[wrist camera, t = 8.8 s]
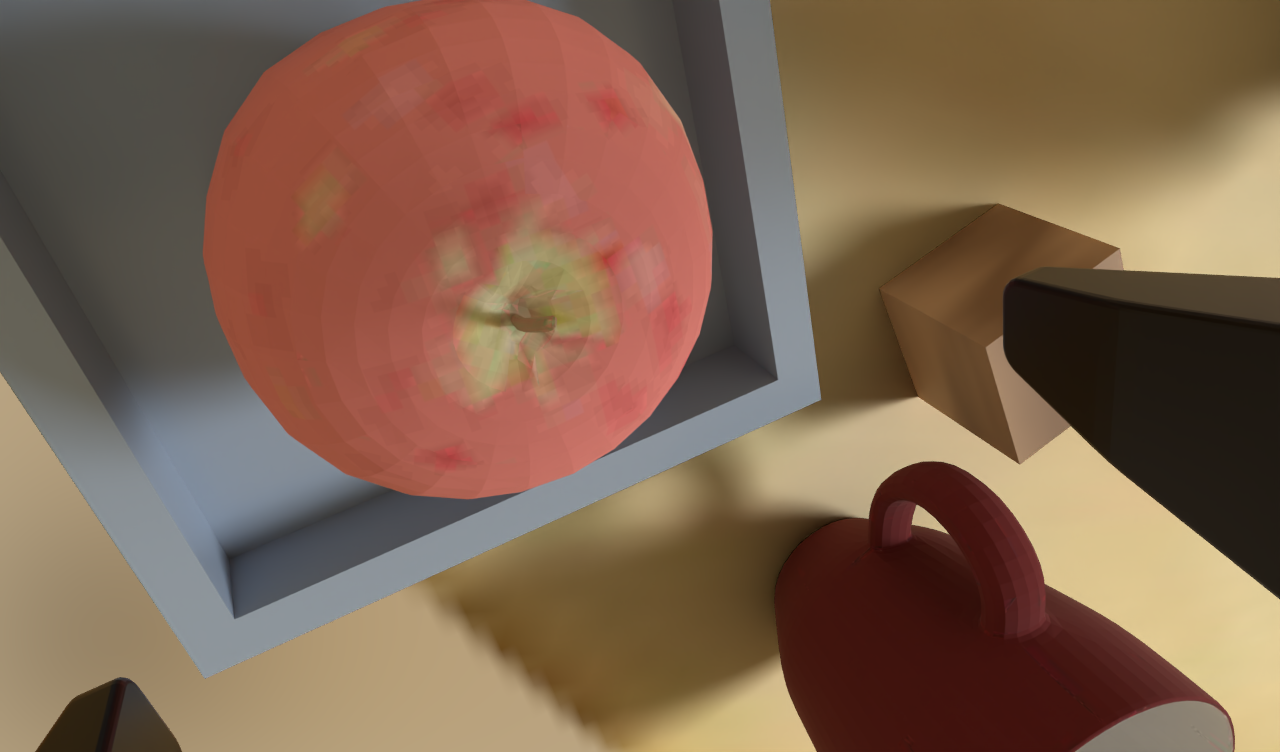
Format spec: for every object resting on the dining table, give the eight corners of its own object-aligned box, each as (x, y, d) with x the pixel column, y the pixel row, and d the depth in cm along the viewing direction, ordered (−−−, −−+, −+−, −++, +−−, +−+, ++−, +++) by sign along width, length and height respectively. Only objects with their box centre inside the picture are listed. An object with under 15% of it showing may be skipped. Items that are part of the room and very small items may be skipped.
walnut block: (995, 202, 25) (1120, 248, 22) (1024, 315, 27) (1141, 372, 24) (877, 287, 25) (985, 347, 21) (916, 395, 27) (1019, 464, 24)
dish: (653, -321, 17) (724, -353, 14) (763, 354, 24) (821, 399, 22) (-250, -124, 13) (-333, -129, 11) (201, 597, 20) (204, 678, 18)
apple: (141, -3, 15) (117, 73, 8) (578, -43, 17) (823, -7, 11) (256, 405, 18) (301, 684, 12) (606, 324, 21) (804, 518, 14)
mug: (664, 462, 24) (918, 754, 16) (925, 337, 26) (1271, 540, 18) (737, 723, 30) (953, 1039, 21) (947, 605, 31) (1220, 854, 23)
